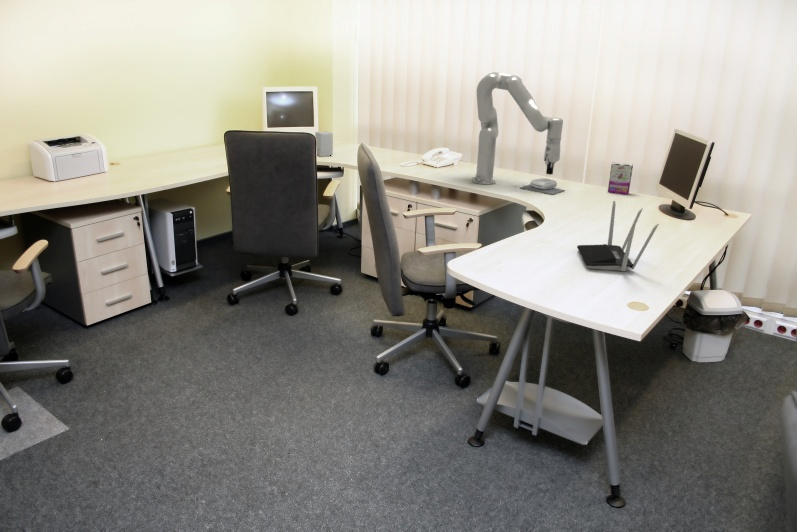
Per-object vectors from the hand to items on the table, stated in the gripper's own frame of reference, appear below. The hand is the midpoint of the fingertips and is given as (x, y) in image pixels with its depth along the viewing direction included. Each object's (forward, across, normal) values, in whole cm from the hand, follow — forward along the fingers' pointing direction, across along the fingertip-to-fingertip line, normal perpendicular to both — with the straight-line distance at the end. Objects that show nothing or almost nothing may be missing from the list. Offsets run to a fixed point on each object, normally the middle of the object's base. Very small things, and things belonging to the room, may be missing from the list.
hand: (549, 174), depth 364 cm
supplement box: (+9, -33, +146) cm, 150 cm away
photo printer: (+5, +2, 0) cm, 6 cm away
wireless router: (+8, -94, -78) cm, 123 cm away
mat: (+8, -6, 0) cm, 10 cm away
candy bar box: (+8, +21, -32) cm, 39 cm away
